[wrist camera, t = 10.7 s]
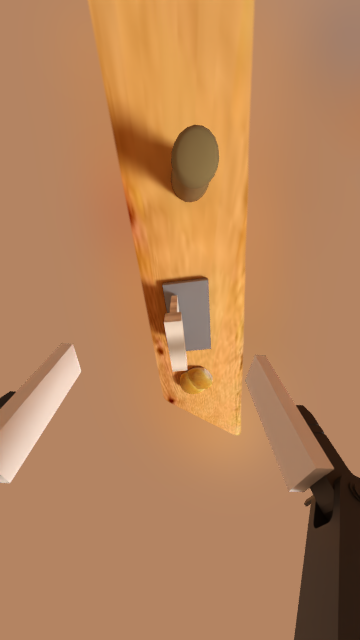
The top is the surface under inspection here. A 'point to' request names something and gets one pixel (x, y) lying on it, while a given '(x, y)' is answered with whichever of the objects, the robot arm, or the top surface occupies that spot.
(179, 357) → the gate
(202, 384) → the bread roll
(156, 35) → the top surface
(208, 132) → the olive mushroom
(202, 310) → the board
